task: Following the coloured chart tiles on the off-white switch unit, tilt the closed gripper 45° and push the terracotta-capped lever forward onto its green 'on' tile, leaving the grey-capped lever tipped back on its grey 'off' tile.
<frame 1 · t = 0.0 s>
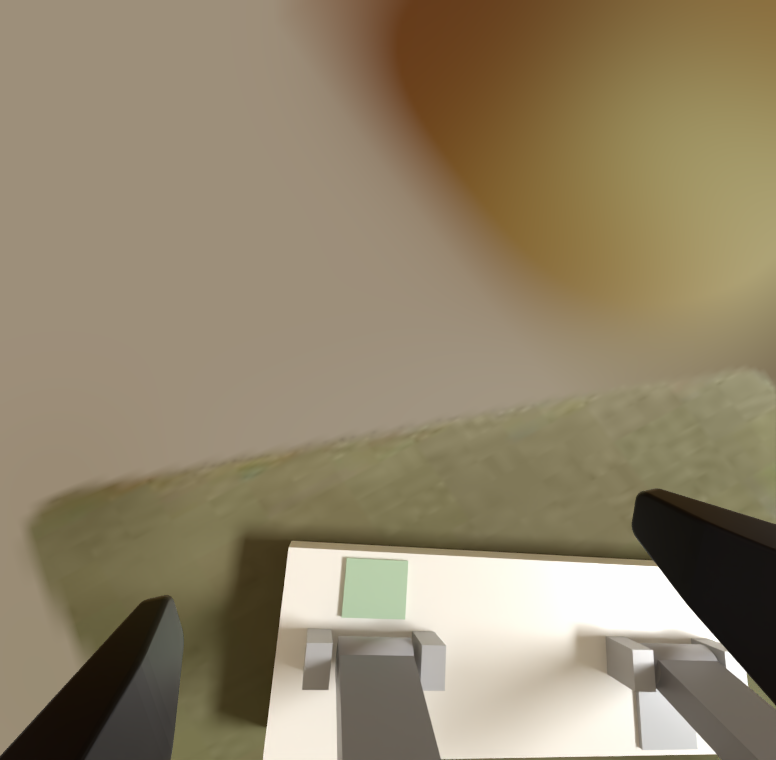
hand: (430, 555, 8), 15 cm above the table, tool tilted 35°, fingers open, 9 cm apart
switch unit: (499, 635, 22), on the table
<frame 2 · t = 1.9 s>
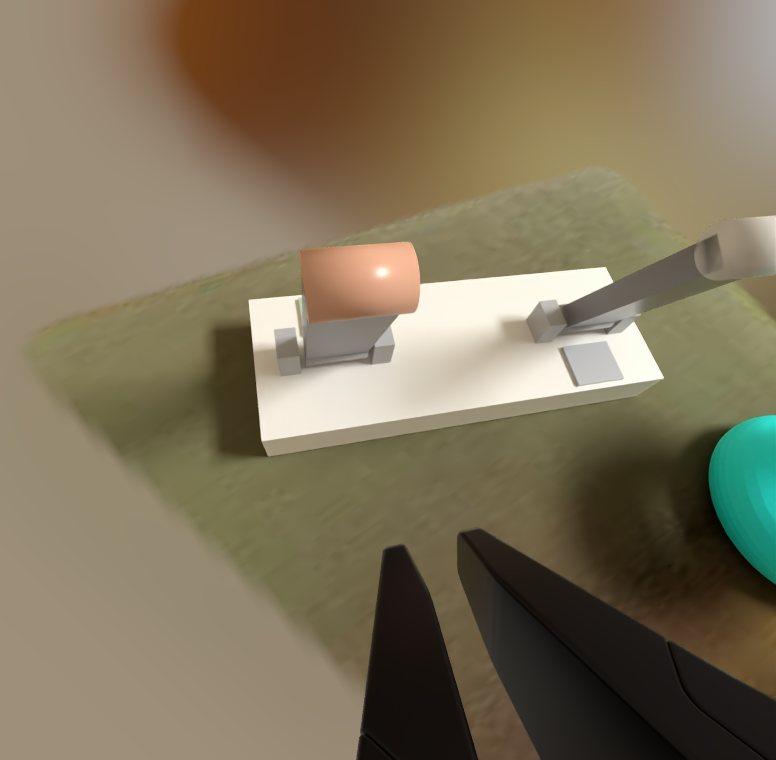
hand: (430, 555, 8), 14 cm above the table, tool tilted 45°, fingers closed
grey lever: (650, 289, 19), point 8 cm above the table, hinge at -20.0°
switch unit: (449, 361, 26), on the table
terracotta lever: (343, 322, 17), point 8 cm above the table, hinge at -20.0°
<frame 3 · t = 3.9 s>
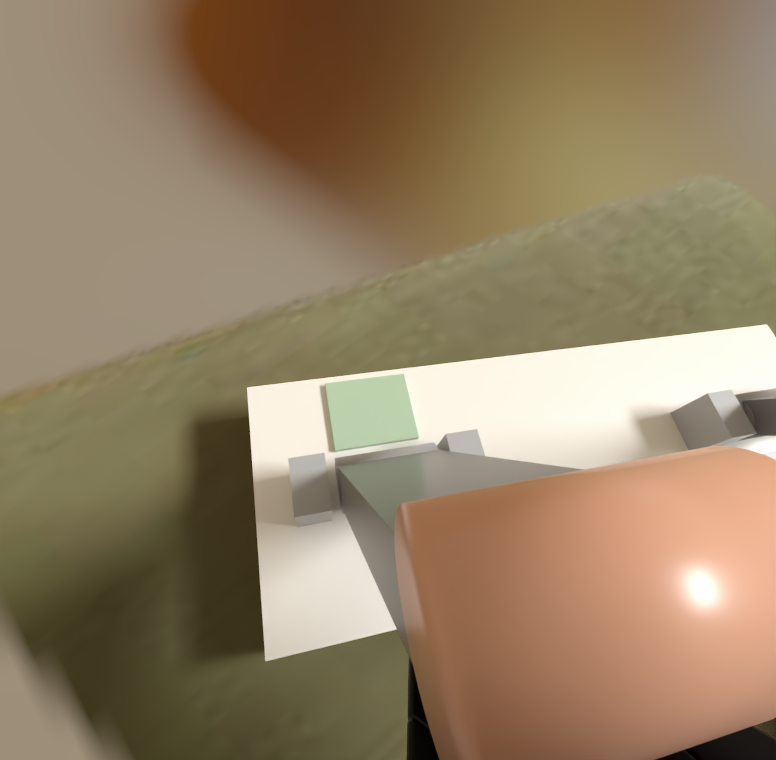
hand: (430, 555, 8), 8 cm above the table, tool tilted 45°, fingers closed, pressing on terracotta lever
switch unit: (547, 468, 17), on the table
terracotta lever: (436, 503, 8), point 8 cm above the table, hinge at -19.5°, touching gripper
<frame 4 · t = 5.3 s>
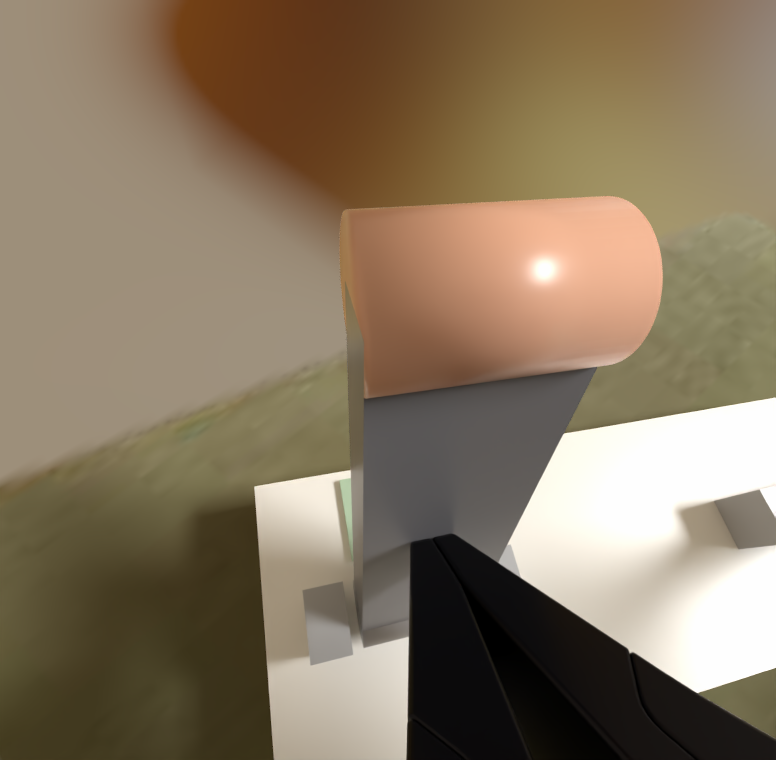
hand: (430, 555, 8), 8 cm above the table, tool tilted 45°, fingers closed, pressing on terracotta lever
switch unit: (578, 556, 16), on the table
terracotta lever: (434, 505, 8), point 8 cm above the table, hinge at 20.3°, touching gripper
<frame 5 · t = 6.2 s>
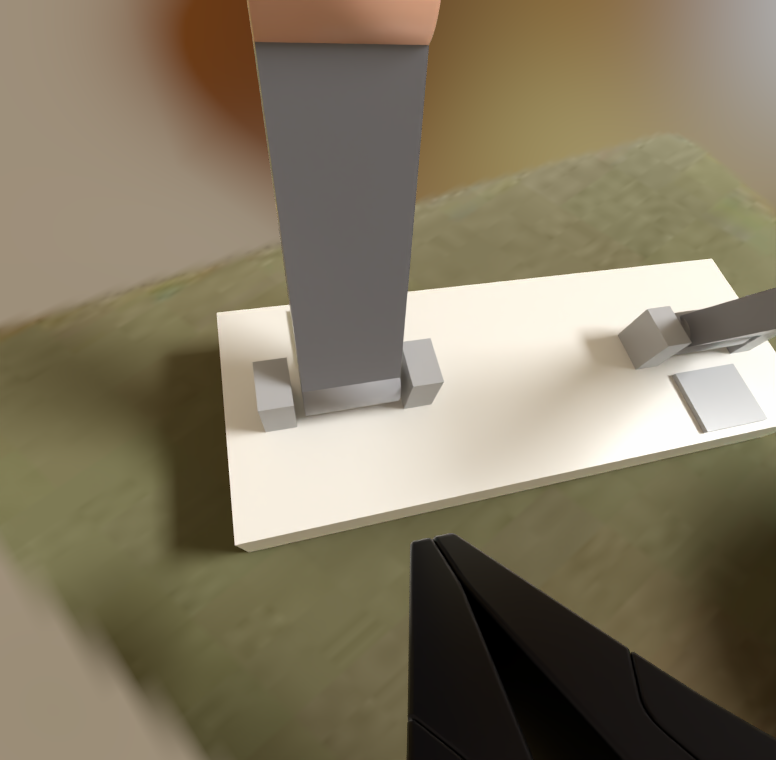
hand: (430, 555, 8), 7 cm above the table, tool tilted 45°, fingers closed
switch unit: (506, 394, 18), on the table
terracotta lever: (344, 240, 10), point 8 cm above the table, hinge at 20.4°
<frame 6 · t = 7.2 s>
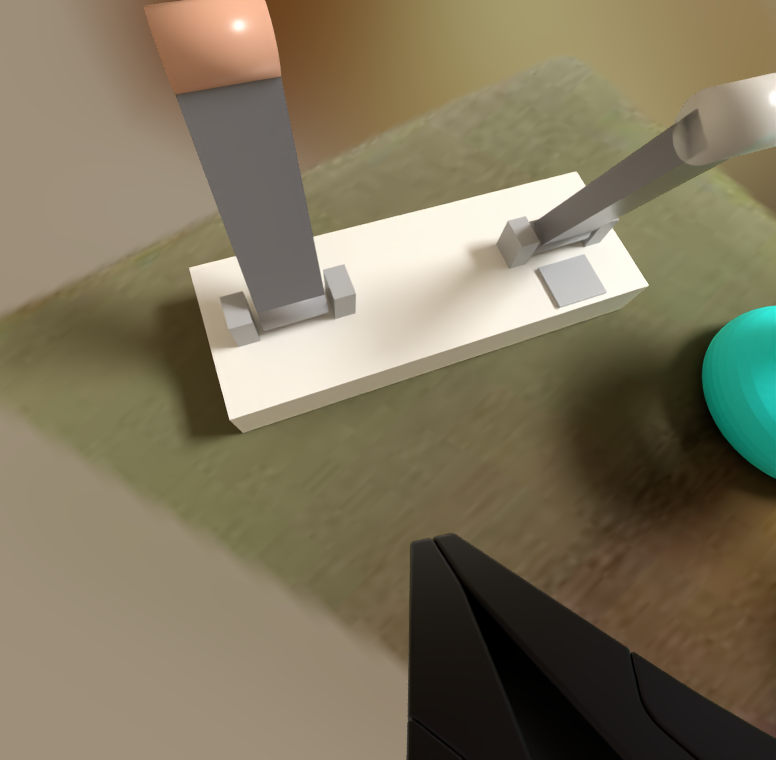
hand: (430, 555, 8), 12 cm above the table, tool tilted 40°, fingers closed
grey lever: (627, 188, 17), point 8 cm above the table, hinge at -20.0°
teal curved piece: (772, 403, 24), on the table
switch unit: (421, 302, 24), on the table
terracotta lever: (262, 202, 16), point 8 cm above the table, hinge at 20.4°
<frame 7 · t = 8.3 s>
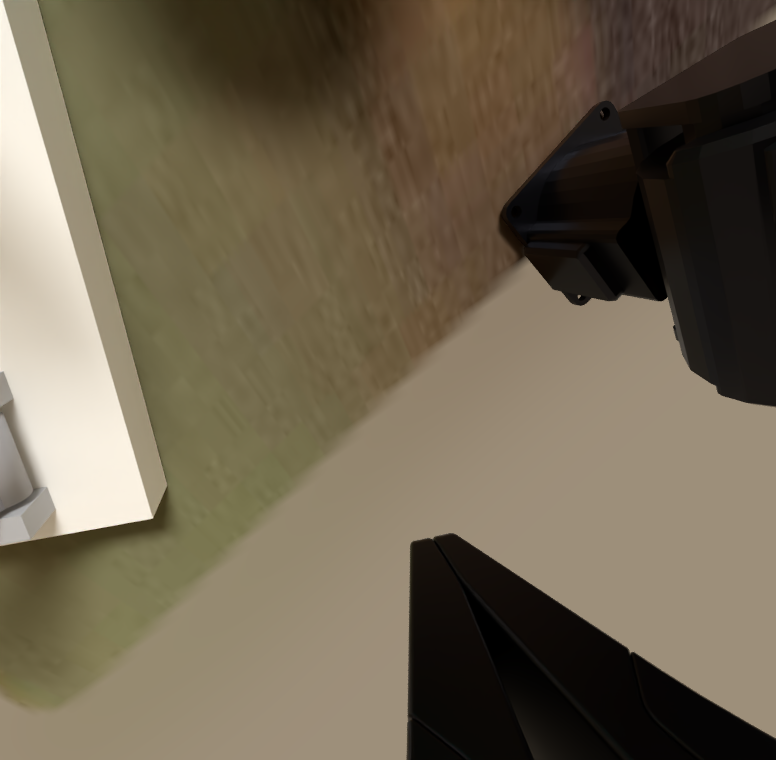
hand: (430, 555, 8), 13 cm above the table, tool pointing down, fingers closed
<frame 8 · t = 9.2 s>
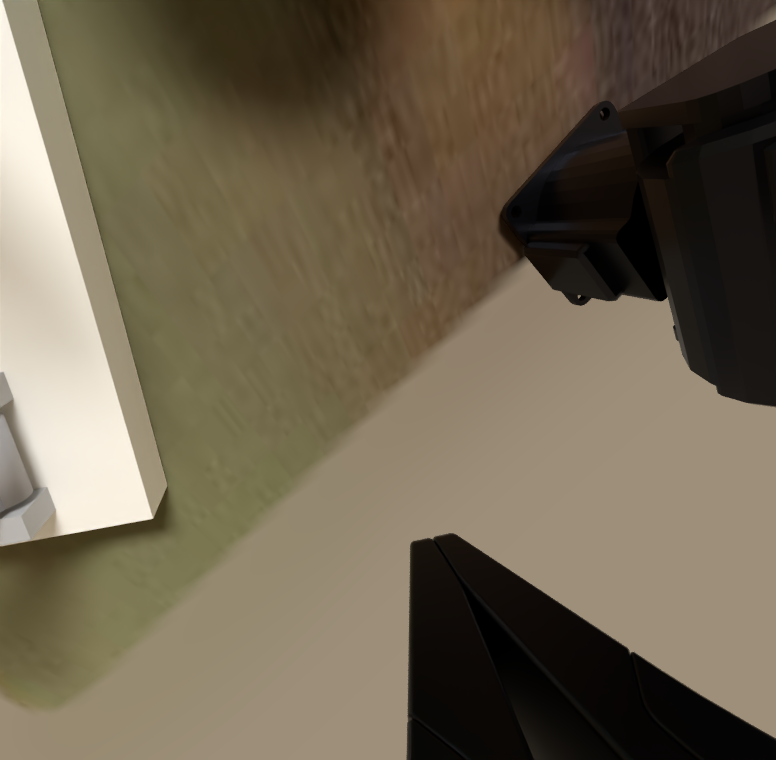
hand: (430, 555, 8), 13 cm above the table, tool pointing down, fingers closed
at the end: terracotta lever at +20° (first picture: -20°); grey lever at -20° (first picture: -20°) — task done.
